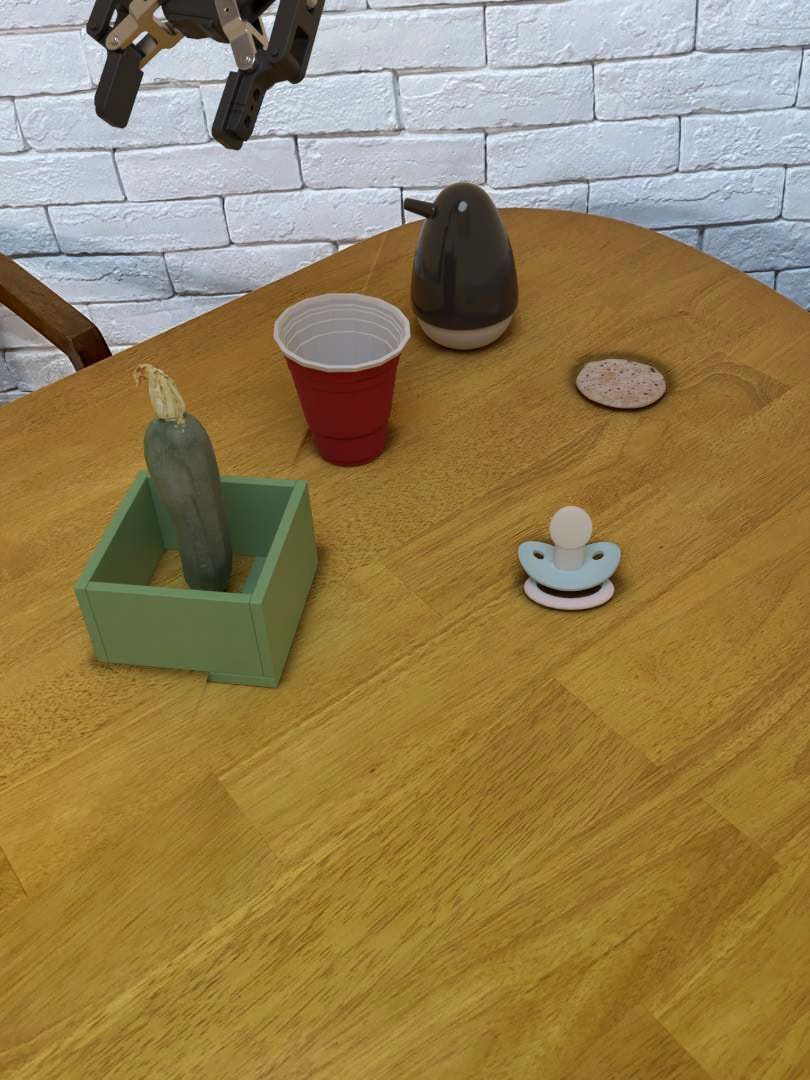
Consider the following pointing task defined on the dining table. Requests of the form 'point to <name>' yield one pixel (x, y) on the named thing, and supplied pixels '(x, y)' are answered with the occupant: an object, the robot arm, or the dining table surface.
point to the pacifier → (569, 562)
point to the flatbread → (621, 383)
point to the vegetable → (187, 483)
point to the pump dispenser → (462, 268)
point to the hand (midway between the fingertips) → (165, 133)
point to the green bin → (195, 615)
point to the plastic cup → (344, 370)
